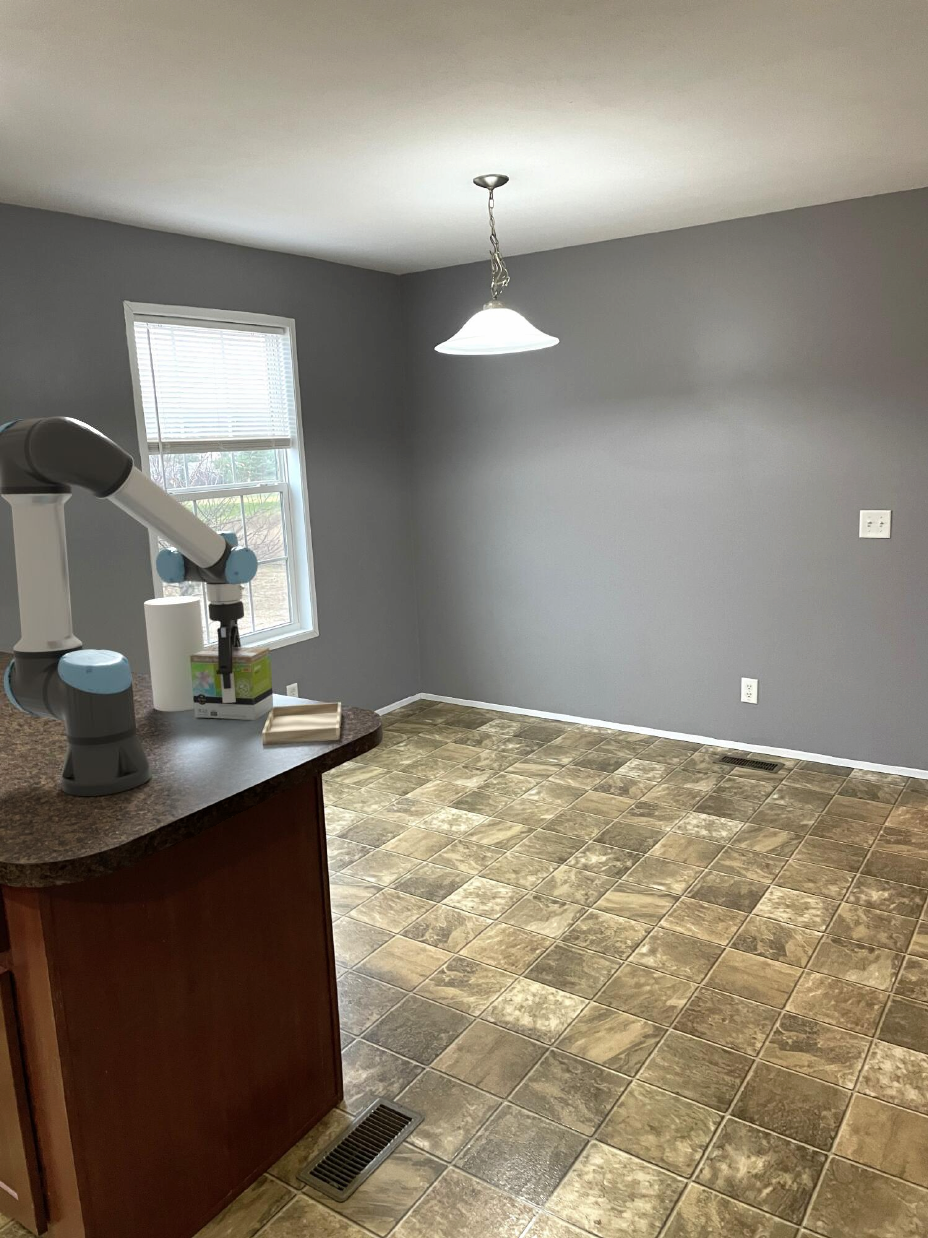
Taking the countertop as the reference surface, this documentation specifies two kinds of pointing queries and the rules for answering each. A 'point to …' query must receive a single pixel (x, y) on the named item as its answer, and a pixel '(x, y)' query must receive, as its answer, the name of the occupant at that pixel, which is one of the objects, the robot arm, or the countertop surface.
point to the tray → (303, 723)
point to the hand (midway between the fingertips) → (233, 694)
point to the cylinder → (173, 649)
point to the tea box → (248, 682)
